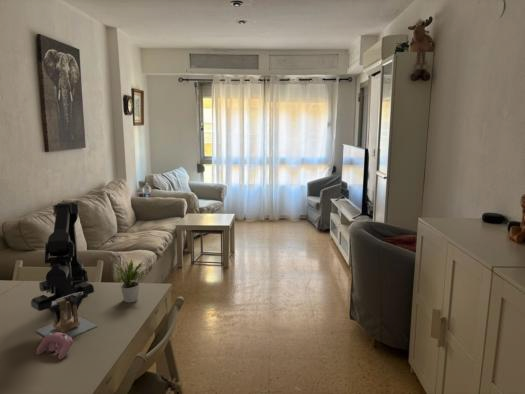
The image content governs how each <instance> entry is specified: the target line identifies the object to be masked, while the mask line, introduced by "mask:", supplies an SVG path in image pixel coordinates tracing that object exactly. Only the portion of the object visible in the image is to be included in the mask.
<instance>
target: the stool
mask: <svg viewBox="0 0 525 394" xmlns="http://www.w3.org/2000/svg"><path fill="white" fill-rule="evenodd" d="M72 307H73V318H74V319H73V318H71V316H72V312H71V301H70V300H69V301H66V302H65V310H66V316H65V310H64V309H60V322H59V323H58V322H57V321H56V319H55V317H54V316H53V322H54V324H53V323H52V324H53V327H54V328H56V329H58V330H59V331H61V332H64V331H67V330H69V329H72V328H74V327H76V326H79V325H80V322H79V321H78V316H79V315H78V314H79V313H78V310H77V305H73V306H72ZM65 317H66V318H67V319H66V318H65Z"/></svg>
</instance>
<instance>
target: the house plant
mask: <svg viewBox="0 0 525 394" xmlns="http://www.w3.org/2000/svg"><path fill="white" fill-rule="evenodd" d="M124 261H125V264H126V268H127V269H123V268H122V267H121V265H118V264H117V263H114V266H116V267H117V268H118V269H115V268H114V270H115V271H116V272H118V273H119V274H120V276H119V275H118V276H116V277H117V278H115V279H114V281H122V284H121V285H120V288H121V293H122V298H123V300H124V302H125V303H134V302H136V301H138V299H139V292H140V291H139V290H140V282H138V281H139V280H140V279H141V278H142V277H145V274H141V273H140V272H141V271H142V270H144V269H143V268H141V267H144V266H148V265H149V264H147V263H146V264H145V263H144V262H145V260H143V261H141V262H140V263H138V265H136V266H134V263H133V259H132V258H131V259H130V261H129V264H128V262H127V261H126V260H124ZM140 268H141V269H140ZM136 279H137V281H136Z"/></svg>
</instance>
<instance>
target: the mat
mask: <svg viewBox="0 0 525 394" xmlns="http://www.w3.org/2000/svg"><path fill="white" fill-rule="evenodd" d="M71 318H73V316H72V315H71ZM65 319H67V317H66V318H65ZM73 319H74V318H73ZM78 321H79V322H80V325H79V326H76V327H74V328H72V329H69V330H67V331H64V332H61V331H59V330H58V329H56V328H54V327H53V324H54V323H51V324H48V325H46V326H44V327H41V328H38V329H36V330H35V332H36V333H38V334H40V335H41V336H42V337H43V338H44V337H45V336H47V334H50V333H55V332H60V333H64V334H66V335H68V336H69V337H71V338H72V339H73V338H75V337H77V336H79V335H82V334H83V333H86V332H89V331H91V330H93V329H95V328H98V325H97V324H95V323H93V322H91V321H89V320H87V319H85V318H83V317H81V316H79V315H78ZM58 344H59V343H57V345H58Z"/></svg>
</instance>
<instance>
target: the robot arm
mask: <svg viewBox="0 0 525 394" xmlns="http://www.w3.org/2000/svg"><path fill="white" fill-rule="evenodd" d="M52 208H53V210H52V211H53V216H55V219H54V227H53V232H52V233H51V234H50V235H48V239H47V242H46V243H45V249H44V264H46V265H47V264H50V267H49V269H48V271H47V273H46V275H45V281H41V282H39V284H38V285H39V291H40V292H41V293H43V292H46V294H48V293H50V294H51V295H50V296H46V295H44V294H42V295H38V296H35V297H33V298H32V299H31V300H30V306H31V308H33V309H35V310H37V311H38V312H42V311H45V310H47V309H48V310H49V311H50V312H51V314H52V315H53V318H54V317H55V319H56V321H57V322H58V323H59V322H60V310H61V309H60V305H59V304H57V301H59V300H62V299H65V298H66V299H67V300H69V301H70V308H71V316H73V307H72V306H73V305H77V311H79V310H78V309H79V307H80V305H81V303H82V301H83V299H84V298H85V299H86V297H88V295H89V294H93V293H94V292H95V287H94V285H93V284H91V283H89V275H88V271H87V270H86V268H85V267H84V262H83V261H81V259H80V258H79V254H78V241H77V234H76V233H77V232H76V222H77V221H78V218H79V214H80V212H81V209H80V204H79V203H77V202H76V201H68V202H67V201H66V202H57V204H53V205H52Z"/></svg>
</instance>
